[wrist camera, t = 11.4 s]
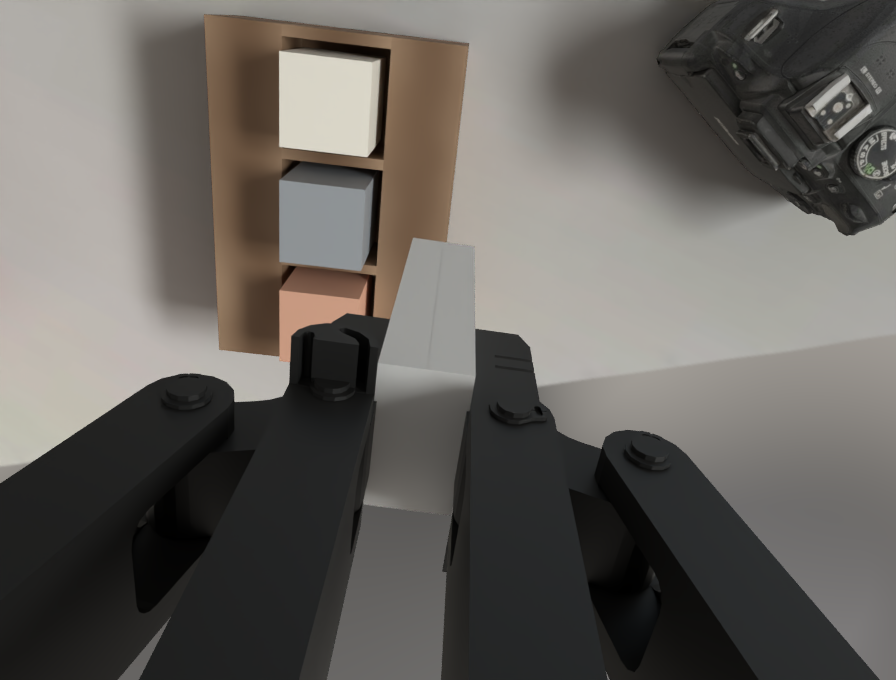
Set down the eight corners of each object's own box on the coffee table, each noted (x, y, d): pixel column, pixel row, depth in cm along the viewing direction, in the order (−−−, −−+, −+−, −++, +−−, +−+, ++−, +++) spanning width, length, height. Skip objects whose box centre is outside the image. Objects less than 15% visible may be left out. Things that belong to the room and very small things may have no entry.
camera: (938, 41, 34) (1108, 47, 25) (823, 218, 38) (932, 279, 29) (709, -67, 32) (802, -103, 23) (614, 131, 36) (662, 166, 27)
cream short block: (304, 130, 34) (279, 146, 30) (305, 47, 33) (278, 51, 28) (380, 139, 34) (367, 157, 30) (386, 57, 33) (372, 62, 28)
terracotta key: (301, 322, 39) (279, 360, 35) (302, 258, 37) (279, 290, 33) (368, 329, 39) (355, 369, 35) (372, 266, 37) (359, 299, 33)
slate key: (302, 232, 37) (279, 261, 32) (304, 159, 35) (279, 180, 31) (374, 240, 37) (360, 271, 32) (379, 168, 35) (365, 190, 31)
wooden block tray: (246, 314, 42) (219, 349, 37) (239, 15, 34) (204, 14, 30) (436, 335, 42) (431, 373, 37) (468, 43, 34) (468, 46, 30)
